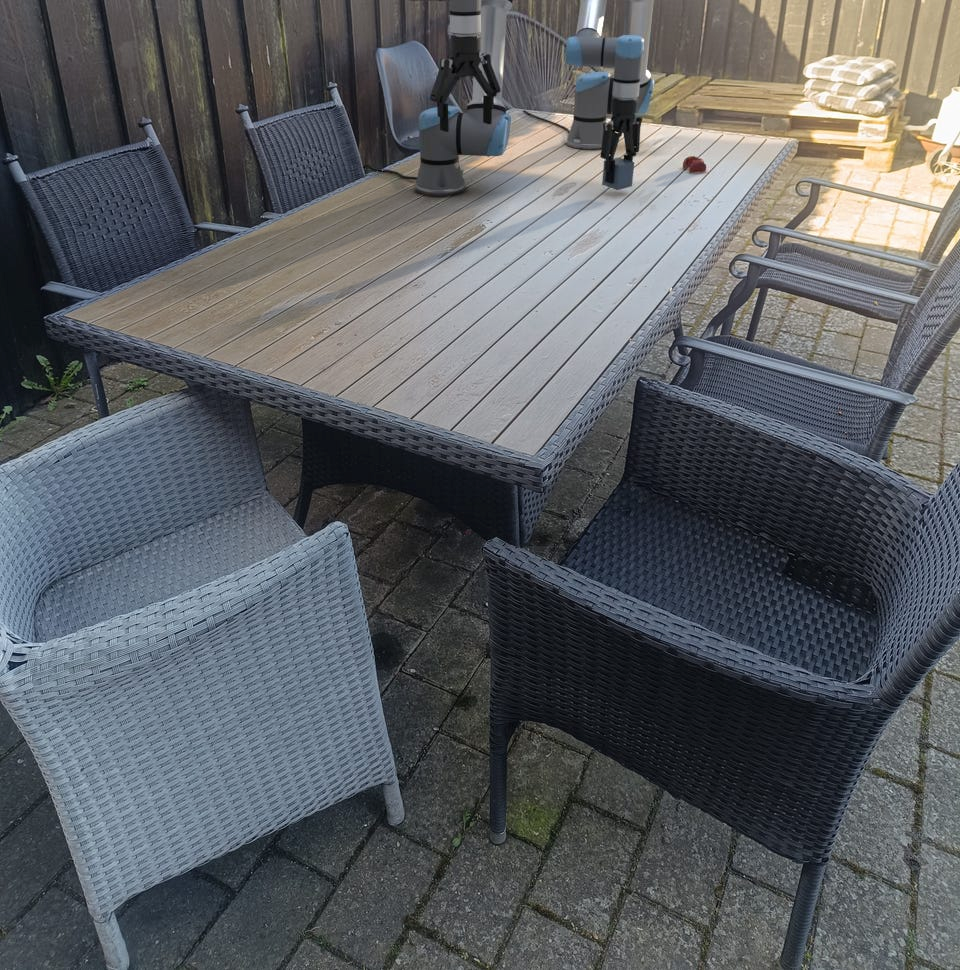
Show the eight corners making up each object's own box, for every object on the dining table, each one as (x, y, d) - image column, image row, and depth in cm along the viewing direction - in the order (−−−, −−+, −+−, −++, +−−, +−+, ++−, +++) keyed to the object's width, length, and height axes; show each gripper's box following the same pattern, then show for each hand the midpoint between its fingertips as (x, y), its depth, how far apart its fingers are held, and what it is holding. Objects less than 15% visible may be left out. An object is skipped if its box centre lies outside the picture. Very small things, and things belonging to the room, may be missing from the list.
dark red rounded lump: (697, 152, 277) (708, 159, 271) (696, 165, 280) (707, 172, 273) (682, 154, 276) (692, 161, 270) (680, 167, 279) (691, 174, 272)
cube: (632, 186, 253) (634, 162, 249) (617, 190, 250) (619, 165, 246) (616, 180, 257) (618, 157, 253) (602, 184, 255) (603, 160, 250)
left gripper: (496, 28, 213) (496, 117, 225) (413, 37, 201) (417, 131, 213) (515, 31, 208) (513, 122, 220) (431, 40, 196) (434, 136, 208)
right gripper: (639, 90, 246) (631, 171, 260) (591, 99, 237) (585, 182, 251) (658, 95, 241) (649, 177, 255) (609, 104, 232) (602, 189, 246)
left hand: (466, 127), depth 217 cm, fingers open, 13 cm apart
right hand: (617, 179), depth 253 cm, fingers closed on cube, 6 cm apart
